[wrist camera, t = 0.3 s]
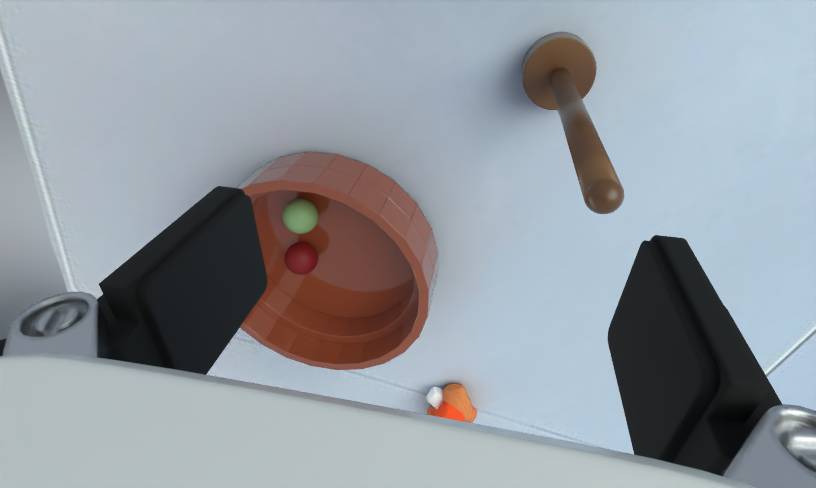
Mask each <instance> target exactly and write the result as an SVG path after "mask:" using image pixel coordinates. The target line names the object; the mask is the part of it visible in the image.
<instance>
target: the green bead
mask: <svg viewBox="0 0 816 488" xmlns="http://www.w3.org/2000/svg"><path fill="white" fill-rule="evenodd" d="M282 219H283V222H284V224H285V226H286V227H287V228H288V229H289V230H290V231H292V232H294V233H298V234H303V233H307V232H309V231H311V230H312V229H313V228H314V227H315V226H316V224H317V222H318V211H317V209H316V207H315V205H314V204H313V203H312V202H310V201H308V200H306V199H294V200H292V201H290V202H289V203H288V204H287V205H286V206H285V207H284V210H283V213H282Z"/></svg>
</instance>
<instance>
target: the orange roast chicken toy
mask: <svg viewBox="0 0 816 488" xmlns="http://www.w3.org/2000/svg"><path fill="white" fill-rule="evenodd" d="M426 398H427V401H428V402H429V403H430V404H431V405H432V406H431V407H430V408H429V409H428V410H427V413H428V415H432V416H437V417H442V418H448V419H453V420H458V421H463V422H469V423H471V422H473V421H474V419H475V418H476V415H477V411H476V409H475V408H474V407H473V406H472V405H471V401H470V399H469V397H468V395H467V392H466V389H465V387H464V386H462V385H461V384H449V385H448V386H446V387H445V388H444V389H443V390H442V389H441V388H438V387H432V388H431V390H430V392H429V393H428V394H427V396H426Z"/></svg>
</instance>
